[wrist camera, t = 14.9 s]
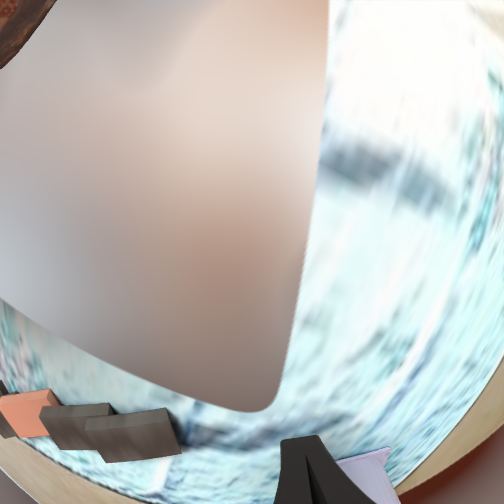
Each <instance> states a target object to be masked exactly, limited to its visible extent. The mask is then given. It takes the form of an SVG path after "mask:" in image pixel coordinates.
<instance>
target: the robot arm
mask: <svg viewBox="0 0 504 504" xmlns="http://www.w3.org/2000/svg"><path fill="white" fill-rule="evenodd" d="M280 448H281V471H280V477H279V483H278V488H277V492H276V496H275V500H274V503H273V504H401V503H400V501H399V499H398V496H397V494H396V492H395V490H394V488H393V486H392V484H391V482H390V479H389V477H388V475H387V473H386V471H385V469H384V466H385V464H386V461H387V459H388V457H389V454H390V452H391V448H390V447H385V448H382V449H379V450H376V451H372V452H369V453H365V454H361V455H358V456H354V457H350V458H346V459H341V460H337V461H335V460H334V459H333V458H332V456H331V455H330V453H329V452H328V451H327V449H326V448H325V446H324V444H323V443H322V441H321V439H320V438H319V436H317V435H312V436H305V437H299V438H292V439H284V440H282V441H281V442H280Z"/></svg>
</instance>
